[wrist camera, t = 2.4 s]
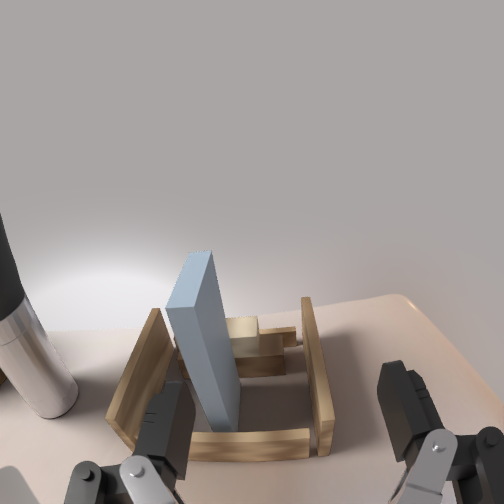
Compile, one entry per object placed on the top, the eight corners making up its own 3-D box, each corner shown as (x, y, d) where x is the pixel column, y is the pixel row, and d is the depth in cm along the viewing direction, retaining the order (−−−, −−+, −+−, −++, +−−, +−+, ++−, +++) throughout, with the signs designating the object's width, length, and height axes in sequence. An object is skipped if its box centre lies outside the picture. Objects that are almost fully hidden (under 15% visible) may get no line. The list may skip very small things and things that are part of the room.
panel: (218, 443, 30) (165, 307, 22) (224, 386, 38) (189, 252, 30) (237, 443, 30) (194, 306, 21) (240, 386, 38) (211, 250, 29)
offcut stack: (184, 378, 40) (169, 340, 37) (189, 359, 44) (176, 320, 40) (285, 374, 39) (281, 334, 36) (283, 354, 43) (280, 313, 39)
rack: (134, 453, 29) (104, 418, 25) (167, 348, 46) (152, 308, 43) (328, 455, 27) (335, 419, 24) (310, 339, 45) (309, 296, 41)
